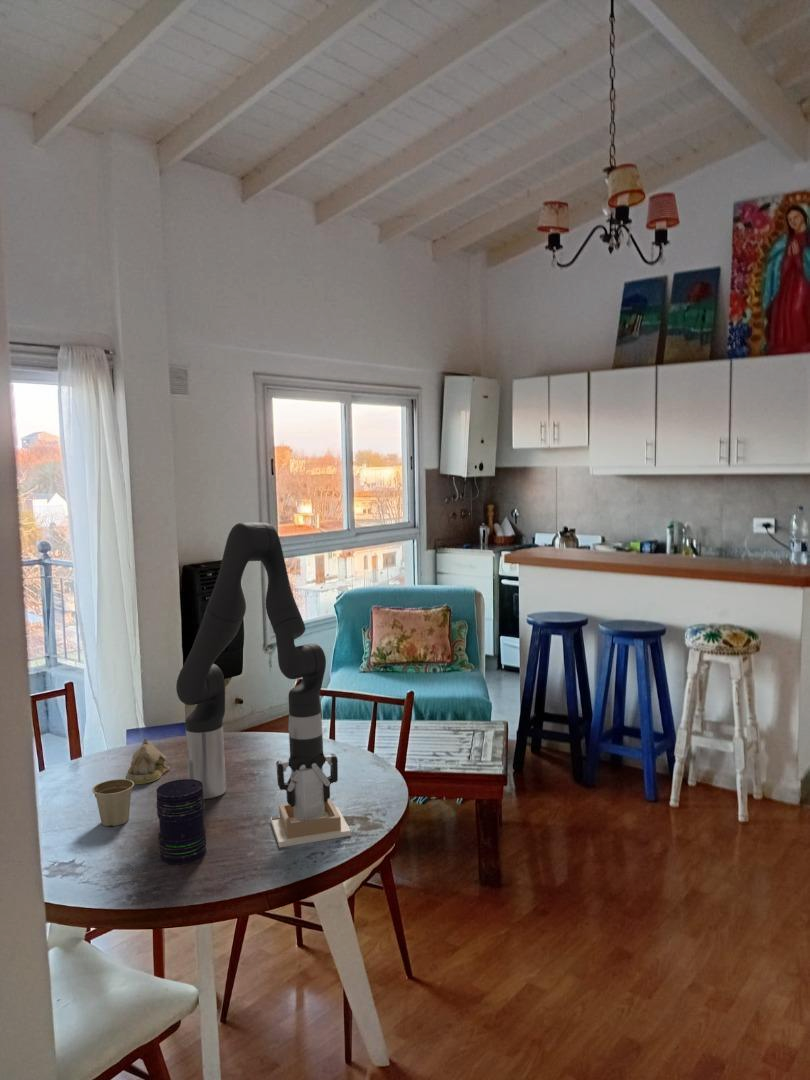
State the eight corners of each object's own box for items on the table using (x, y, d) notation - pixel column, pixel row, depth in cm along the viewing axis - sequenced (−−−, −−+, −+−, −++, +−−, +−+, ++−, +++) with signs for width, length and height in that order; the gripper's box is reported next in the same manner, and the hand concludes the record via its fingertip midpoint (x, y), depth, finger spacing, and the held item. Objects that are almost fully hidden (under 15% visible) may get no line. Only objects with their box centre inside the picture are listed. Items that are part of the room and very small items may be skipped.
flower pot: (144, 815, 194) (142, 780, 193) (118, 832, 185) (116, 795, 184) (112, 811, 197) (110, 777, 196) (85, 827, 188) (83, 791, 187)
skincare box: (313, 810, 187) (311, 760, 186) (325, 815, 184) (323, 765, 183) (292, 819, 183) (290, 767, 182) (304, 824, 179) (302, 772, 179)
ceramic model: (130, 768, 227) (128, 733, 226) (171, 764, 229) (169, 730, 228) (121, 786, 213) (118, 750, 212) (164, 783, 215) (162, 746, 214)
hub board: (279, 847, 174) (278, 828, 174) (270, 821, 188) (269, 803, 187) (350, 835, 179) (350, 816, 179) (337, 811, 192) (336, 793, 192)
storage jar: (162, 870, 166) (158, 800, 165) (156, 850, 175) (153, 784, 174) (211, 859, 170) (207, 791, 169) (203, 841, 179) (199, 775, 178)
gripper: (276, 741, 176) (279, 814, 177) (340, 733, 180) (343, 804, 181) (271, 731, 183) (275, 801, 184) (333, 724, 187) (336, 792, 189)
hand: (308, 803), depth 183 cm, fingers closed on skincare box, 7 cm apart
